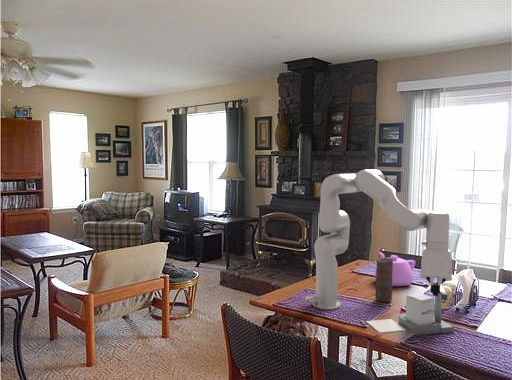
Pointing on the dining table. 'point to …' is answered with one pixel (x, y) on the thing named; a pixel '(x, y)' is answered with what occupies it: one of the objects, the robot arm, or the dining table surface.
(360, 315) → the dining table surface
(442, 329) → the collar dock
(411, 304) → the supplement box
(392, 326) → the tile pad
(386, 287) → the brown rectangular block
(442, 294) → the bar
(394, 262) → the kettle
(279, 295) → the dining table surface
